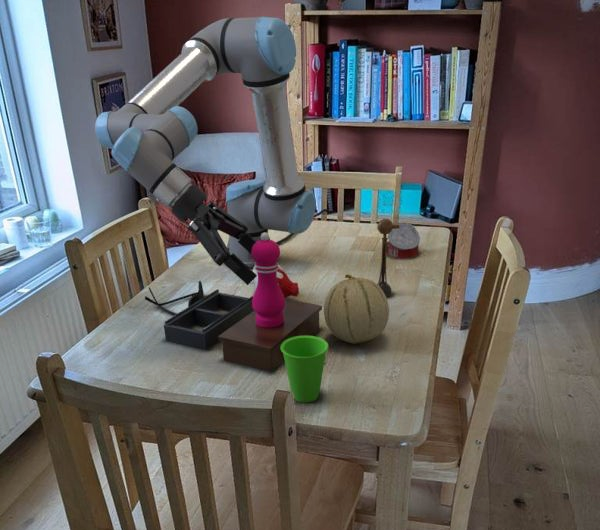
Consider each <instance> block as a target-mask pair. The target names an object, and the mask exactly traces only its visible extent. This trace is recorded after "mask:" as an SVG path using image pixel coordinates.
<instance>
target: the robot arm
mask: <svg viewBox="0 0 600 530" xmlns="http://www.w3.org/2000/svg"><path fill="white" fill-rule="evenodd" d="M296 57H297V45H296V40H295V37H294V33H293V31H292V30H291V27H289V25H288V24H287V23H286V22H285V21H284V20H283V19H281V18H279V17H269V16H255V17H254V16H253V17H228V18H227V17H225V18H222V19H218V20H217V21H214V22H212V23H210V24H209V25H207V26H206V27H204V28H203V29H201V30H200V31H198V32H197V33H195V34H194V35H193V36H192V37H191V38H190V39H188V40H187V41H186V42H185V43H184V44H183V46H182V48H181V53H180V54H179V55H178V56H177V57H176V58H174V59H173V61H171V62H170V63H169V64H168V65H167V66H166V67H165V68H164V69H162V70H161V71H160V72H159V73H158V74H157V75H156V76H154V78H153V79H152V80H150V81H149V82H148V83H147V84H146V85H145V86H144V87H142V89H141V90H139V91H138V92H137V93H136V94H135V95H134V96H133V97H132V98H130V100H128V101H127V102H126V103H125V104H124V105H122V107H120V109H118V110H116V111H114V110H110V111H103V112H101V113H99V115H98V116H97V118H96V120H95V123H94V131H95V136H96V138H97V140H98V142H99V143H100V145H101V146H103V147H104V148H106V149H111V156H112V158H113V159H114V160H115V161H116V162H117V163H118V164H119V166H121V168H123V170H124V171H125V172H127V173H128V174H129V175H130V176H131V177H132V178H133V179H135V180H136V181H137V182H138V183H139V184H140V185H141V186H143V187H144V189H146V190H147V191H148V192H149V193H150V194H151V195H152V196H153V197H154V198H156V202H157V203H161V204H162V205H163V206H164V207H165V208H167V209H169V208H171V209H170V212H171V213H172V215H174V216H175V217H176V218H177V219H178V220H179V221H180V222H181V223H184V224H185V223H186V222H187V221H188V220H190V222H189V224H188V225H187V229H188V230H189V231H190V232H191V233H192V234H193V235H194V236H195V237H196V239H197V240H198V242H199V243H200V244H201V246H202V247H203V248H204V250H205V251H206V252H207V255H209V256H210V258H211V259H212V260H213V262H214V263H215V264H216V265H217V266H218V267H221V266H222V265H225V266H226V267H227V268H228V269H229V270H231V272H233V274H234V275H236V276H237V277H238V278H239V279H240V280H241V281H242V282H243V283H245V284H246V285H247V286H249V285H250V284H252V281H253V279H255V277H256V276H257V275H256V274H255V273H254V272H253V269H254V268H253V267H255V263H256V262H255V261H254V259H253V258H252V254H251V251H252V247H253V245H254V244H255V243H256V242H257V241H259V240H261V234H262V233H268V234H269V230H270V231H278V232H285V233H289V234H288V235H287V236H286V237H283V238H282V239H280V240H277V241H275V242H276V243H277V244H278V245H281V244H282V243H284V242H286V241H287V240H289V239H290V238H292V237H293V236H294V235H295V234H303V233H306V231H307V230H308V229H309V228H310V226H311V224H312V223H313V220H314V218H317V217H318V216H320V215H322V214H323V213H324V212H325V213H326V214H327V213H329V212H330V211H329V210H328V209H327V208H323V209H322V210H320V211H319V212H317V213H316V207H317V199H316V196H315V195H316V194H314V192H312V191H311V190H307V188H306V182H305V180H304V178H302V177H301V176H299V172H298V166H297V159H296V152H295V146H294V137H293V131H292V125H291V124H292V123H291V118H290V117H291V116H290V110H289V103H288V96H287V89H286V84H287V83H288V81H289V80H290V77H291V75H290V73H291V72H292V71H293V70H294V67H295V65H296V62H297V60H296ZM223 74H240V75H241V79H242V85H243V87H245V88H246V89H248V90H249V91H250V94H251V100H252V104H253V111H254V116H255V121H256V127H257V132H258V138H259V144H260V148H261V149H260V150H261V155H262V160H263V166H264V172H265V176H266V177H265V178H266V180H264V179H263V178H262V179H261V178H256V179H247V180H246V179H245V180H241V181H237V182H234V183H231V184H229V185H228V186H227V187H226V189H225V204H226V211H225V210H224V209H222V208H220V207H219V206H218V205H217V204H215V203H214V201H211V200H210V201H209V202H208V204H207V203H205V201H206V200H207V198H208V195H207V193H206V192H205V191H204V190H203V189H202V188H200V187H199V186H198V185H197V184H195V183H193V184H192V179H191V177H189V176H188V174H186V173H185V172H184V171H183V170H182V169H181V168H180V167H178V165H177V164H175V163H174V162H173V160H175V159H176V158H177V157H178V156H180V154H181V153H183V152H184V151H185V149H187V148H188V147H190V145H191V143H192V142H193V141H194V140H195V138H196V137H197V135H198V132H199V131H198V123H197V121H196V118H195V117H194V115H193V114H192V113H191V112H190V111H189V110H188V109H187V108H185V107H184V106H183V107H182V106H180V105H181V104H182V103H183V102H184V101H185V100H186V99H187V98H188V97H189V96H190V95H191V94H192V93H193V92H195V90H196V89H197V88H198V87H199V86H201V84H202V83H204V82H206V83H207V82H210V81H213V79H214V78H216V77H217V76H219V75H223ZM315 213H316V214H315ZM219 231H220V232H222V233H223V234H226V235H227V236H228V240H227V244H226V243H225V241H224V240H223V238H222V237H221V235H220V232H219ZM269 240H271V237H269Z"/></svg>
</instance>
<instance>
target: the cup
mask: <svg viewBox="0 0 600 530" xmlns="http://www.w3.org/2000/svg"><path fill="white" fill-rule="evenodd" d="M280 349H281V351H282V352H283V355H284V359H285V360H284V363H285V368H286V372H287V377H288V382H289V386H290V391H291V393H292V392H293V394H294V397H293V399H294V400H295V401H297V402H299V403H312V402H314V401H316V400H317V399H318V397H319V395H320V391H321V385H322V379H323V374H324V373H323V372H324V367H325V361H326V354H327V352H328V350H329V343H328V342H327V341H326V340H325V339H323V338H321V337H318V336H314V335H313V336H296V337H292V338H289V339H287V340H285V341H284V342H283V343H282V344H281V348H280Z"/></svg>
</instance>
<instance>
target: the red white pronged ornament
mask: <svg viewBox="0 0 600 530" xmlns="http://www.w3.org/2000/svg"><path fill="white" fill-rule="evenodd" d="M278 267H279V269H278V270H277V274H276V275H277V282H278V285H279V287H280V289H281V291H282V293H283V295H284V298H285V299H286V298H287V297H298V296H299V294H300V291H299V290H300V288H299V283H298V282H293V281H292V280H291V279H290V278H289V276H288V275H287V273H286V271H284V269H283V267H282V266H281V265H279V264H278ZM252 271H253V272H254V273H255V274H256V275H257V276H256V277H255V278H254V279H253V280H252V282H251V284H252V285H253V286H254V292H255V291H256V288H257V284H258V274H257V271H255V267H253V268H252Z"/></svg>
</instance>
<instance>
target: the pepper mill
mask: <svg viewBox="0 0 600 530" xmlns="http://www.w3.org/2000/svg"><path fill="white" fill-rule="evenodd" d="M269 238H270V234H269V232H268V233H262V234H261V240H259V241H257V242H256V243H255V244H254V245H253V247H252V251H251V254H252V258H253V259H254V261H255V262H256V263H255V271H257V274H258V284H257V288H256V291H255V290H254V294H253V295H252V296H253V300H252V307H253V309H254V311H255V312H256V315H255V320H256V324H257V325H258V326H260V327H265V328H272V327H277V326H280V325H281V324H283V322H284V314H283V313H282V310H283V309H284V307H285V299H286V297H285V298H284V295H283V293H282V291H281V289H280V287H279V285H278V282H277V275H276V274H277V270H278V269H279V267H278V265H279V262H278V261H279V259H280V256H281V248H280V246H279V244H277V243H276V242H277V241H274V240H273V239H270V240H269Z"/></svg>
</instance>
